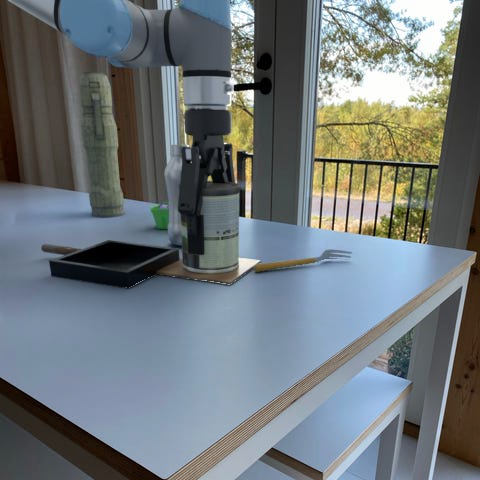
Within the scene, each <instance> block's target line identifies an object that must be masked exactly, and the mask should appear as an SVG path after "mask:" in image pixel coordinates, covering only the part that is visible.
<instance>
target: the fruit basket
mask: <svg viewBox="0 0 480 480" xmlns="http://www.w3.org/2000/svg"><path fill="white" fill-rule="evenodd" d="M166 195H167V196H168V192H167V194H166ZM149 210H150V212H151V213H152V216H153V218H154V222H155V225H156V228H157V229H158V230H168V224H169V201H164V202H161V203H160V204H157V205H154V206H152V207H150V208H149Z"/></svg>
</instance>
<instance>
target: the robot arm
mask: <svg viewBox="0 0 480 480" xmlns="http://www.w3.org/2000/svg"><path fill="white" fill-rule="evenodd" d="M7 1H8V2H10V4H13V5H15V6H16V7H18V8H19V9H21V10H22V11H24V12H26V13H28V14H29V15H32V16H33V17H35V18H36V19H38V20H40V21H41V22H43V23H45V24H47V25H48V26H50V27H52V28H53V29H55V30H57V31H58V32H60V33H61V34H63V35H64V36H65V37H67V38H68V39H69V41H70V42H71V43H72V44H73V45H74V46H76V48H78V49H80V50H82V51H83V52H86V53H87V54H89V55H92V56H94V57H96V58H105V59H107V60H108V63H109V64H111V65H112V66H114V67H117V68H129V69H137V68H154V67H157V68H158V67H159V68H160V67H181V69H182V93H183V94H182V95H183V97H182V98H183V99H182V100H183V101H182V102H183V106H185V107H186V108H187V109H186V110H184V112H183V119H184V121H183V122H184V133H185V135H187V136H192V143H191V146H189V147H185V146H183V147H182V149H181V153H182V170H181V180H180V190H179V201H178V212H180V214H184V215H186V216H187V239H188V253H189V254H197V255H204V216H203V215H200V212H201V208H202V203H203V196H202V189H206V185H207V181H209V177H211V181H212V182H213V183H224V184H226V182H233V183H236V177H235V169H234V160H233V159H234V158H233V144H232V143H231V142H225V141H224V136H230V135H231V134H232V132H233V131H232V125H233V124H232V123H233V122H232V116H233V115H232V112H231V110H228V107H230V106H231V105H232V92H233V90H234V85H233V84H232V34H233V28H232V17H231V15H232V13H231V0H179V3H178V7H177V8H168V9H145V8H143V7H141V5H140V6H139V5H138V4H136V3H134V2H133V1H131V0H7ZM197 189H198V190H197Z"/></svg>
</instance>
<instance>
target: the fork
mask: <svg viewBox="0 0 480 480" xmlns="http://www.w3.org/2000/svg"><path fill="white" fill-rule="evenodd" d="M346 254H347V255H346ZM351 254H353V252H352V251H348V250H340V249H333V248H328V249H325V250H324V251H323V252H322V253H321V254H320V255H319V256H315V257H307V258H298V259H289V260H280V261H272V262H264V263H262V262H261V264H256V265H254V269H253V271H254V272H255V271H256V272H255V273H260V272H259V271H262V272H266V271H265V270H268V271H272V270H271V269H274V270H278V269H277V268H280V269H284V268H283V267H286V268H290V266H292V267H297V266H296V265H298V266H304V265H310V263H311V264H316V263H315V262H317V263H320V262H319V261H321V260H324V259H338V258H346V259H347V258H348V259H349V258H350V259H351V258H352V256H351ZM321 262H322V261H321ZM303 264H304V265H303Z"/></svg>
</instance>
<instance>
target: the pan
mask: <svg viewBox="0 0 480 480" xmlns="http://www.w3.org/2000/svg"><path fill="white" fill-rule="evenodd" d="M40 249H41V251H42V252H43V253H45V254H46V253H47V254H53V255H60V256H58V257H55V258H52V259H49V260H48V264H49V270H50V276H51V277H55V276H56V278H61V277H62V278H61V279H67V278H69V279H68V280H73V279H76V280H75V281H79V280H82V282H85V281H87V283H92V282H94V283H93V284H98V285H104V284H105V286H110V285H111V286H110V287H116V286H118V287H117V288H122V287H127V288H126V289H128V288H129V287H131V286H133V285H135V284H136V283H138V282H140V281H142V280H144V279H147V278H148V277H151V276H153V275H155V274H157V273H156V272H157V271H158V270H160V269H162V268H164V267H166V266H168V265H170V264H172V263H174V262H176V261H178V260H180V248H175V247H168V246H160V245H159V246H158V245H151V244H142V243H135V242H129V241H128V242H126V241H120V240H119V241H118V240H111V239H108V240H105V241H101V242H99V243H96V244H93V245H90V246H87V247H85V248H79V247H71V246H64V245H55V244H49V243H44V244H42V245H41V247H40ZM155 276H156V275H155ZM153 277H154V276H153ZM151 278H152V277H151ZM147 280H148V279H147ZM135 286H136V285H135ZM133 287H134V286H133ZM131 288H132V287H131ZM129 289H130V288H129Z"/></svg>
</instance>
